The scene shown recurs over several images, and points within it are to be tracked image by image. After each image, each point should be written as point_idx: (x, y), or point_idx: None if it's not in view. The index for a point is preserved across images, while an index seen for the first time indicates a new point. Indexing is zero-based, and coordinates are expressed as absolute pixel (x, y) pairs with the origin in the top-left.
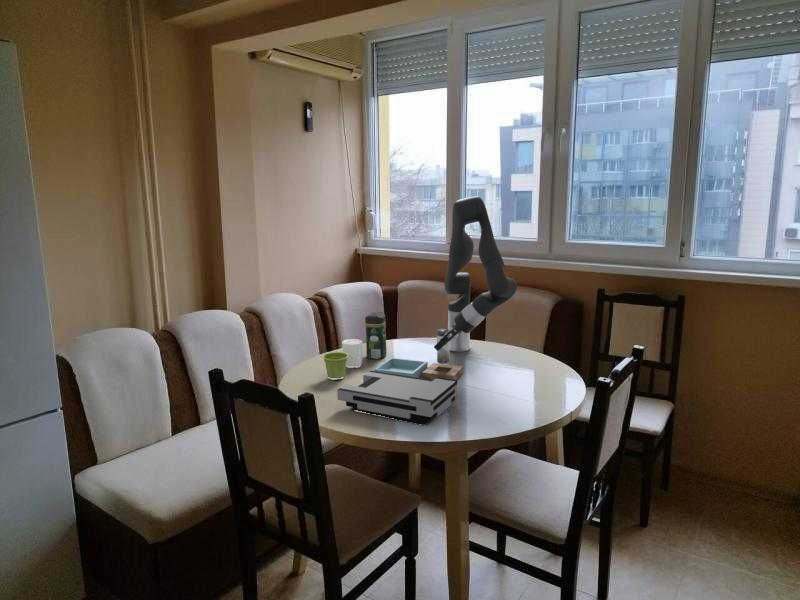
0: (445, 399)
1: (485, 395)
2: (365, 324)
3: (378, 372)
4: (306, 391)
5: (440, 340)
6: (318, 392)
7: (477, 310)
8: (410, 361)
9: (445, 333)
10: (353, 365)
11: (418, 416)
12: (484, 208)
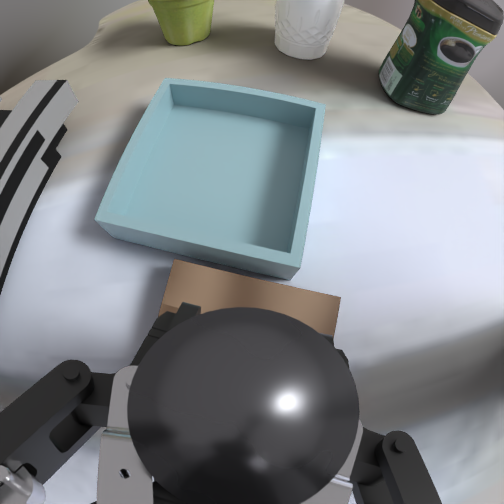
0: None
1: (52, 497)
2: None
3: (41, 105)
4: (104, 28)
5: (58, 369)
6: (93, 43)
7: None
8: (303, 181)
9: (100, 454)
10: (277, 39)
11: None
12: None
